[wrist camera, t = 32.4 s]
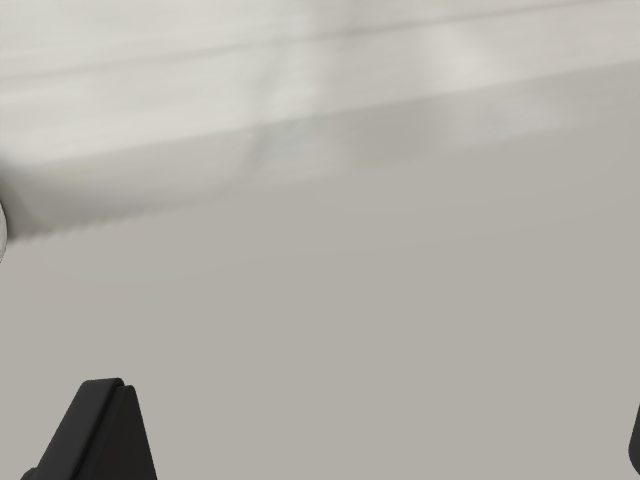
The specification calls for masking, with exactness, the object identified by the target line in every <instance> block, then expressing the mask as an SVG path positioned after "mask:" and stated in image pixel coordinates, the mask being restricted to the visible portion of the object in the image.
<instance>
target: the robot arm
mask: <svg viewBox="0 0 640 480" xmlns="http://www.w3.org/2000/svg"><path fill="white" fill-rule="evenodd" d="M6 242H7V227H6V219H5V216H4V213H3V210H2V206H1V203H0V263H1V260H2V257H3V255H4V252H5V250H6ZM629 457H630V461H631V462H632V465H633V467H634V468H635V470H636V471H637V472H638V474H639V475H640V405H639V409H638V413H637V417H636V421H635V425H634V428H633V432H632V436H631V440H630V444H629ZM21 480H157V476H156V472H155V468H154V464H153V460H152V456H151V452H150V448H149V444H148V440H147V436H146V431H145V428H144V423H143V419H142V415H141V411H140V407H139V403H138V399H137V395H136V391H135V389H134V387H133V386H132V385H128V386H125V385H124V382H123V381H122V379H121V378H109V379H98V380H87V381H85V382H83V383H82V385H81V386H80V388H79V390H78V392H77V394H76V395H75V397H74V399H73V401H72V403H71V405H70V406H69V408H68V410H67V412H66V414H65V416H64V418H63V420H62V421H61V423H60V425H59V427H58V429H57V431H56V433H55V435H54V436H53V438H52V440H51V442H50V444H49V445H48V447H47V450H46V451H45V453H44V455H43V457H42V459H41V460H40V462H39V464H38V466H37V467H36V468H31V469H30V470H29V471H27V472H26V473H25V474H24V475H23V477H22V478H21Z"/></svg>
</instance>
